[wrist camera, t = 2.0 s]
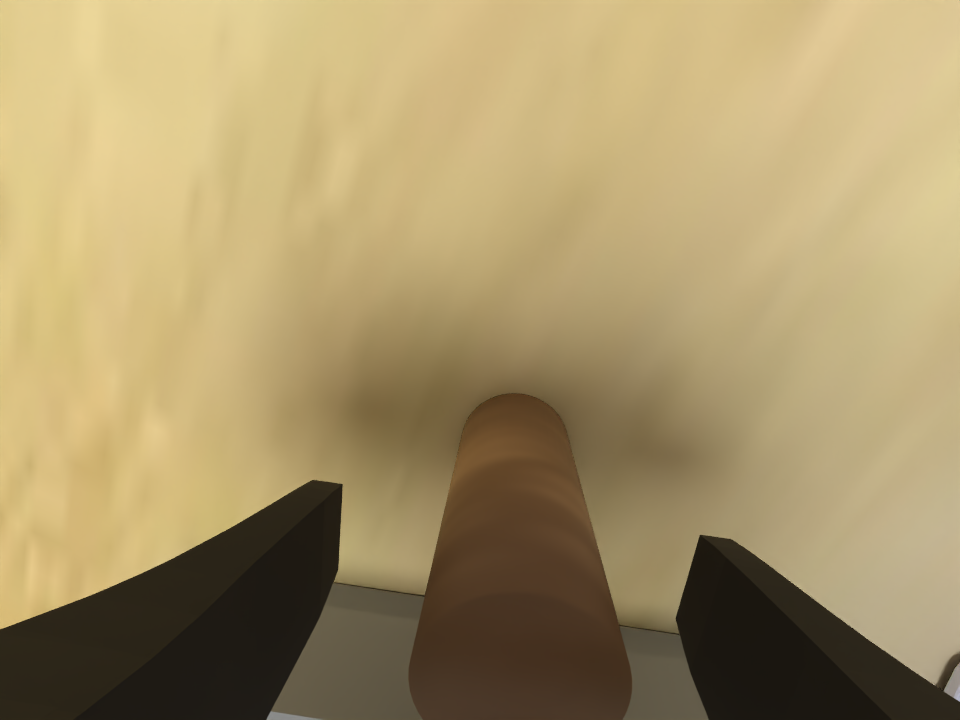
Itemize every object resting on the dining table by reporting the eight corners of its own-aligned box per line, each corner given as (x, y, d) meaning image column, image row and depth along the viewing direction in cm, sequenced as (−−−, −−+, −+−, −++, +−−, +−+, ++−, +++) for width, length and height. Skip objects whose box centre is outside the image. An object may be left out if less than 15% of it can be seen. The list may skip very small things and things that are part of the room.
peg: (576, 401, 14) (655, 611, 6) (558, 497, 15) (607, 782, 7) (467, 386, 14) (417, 576, 7) (455, 483, 15) (399, 750, 7)
